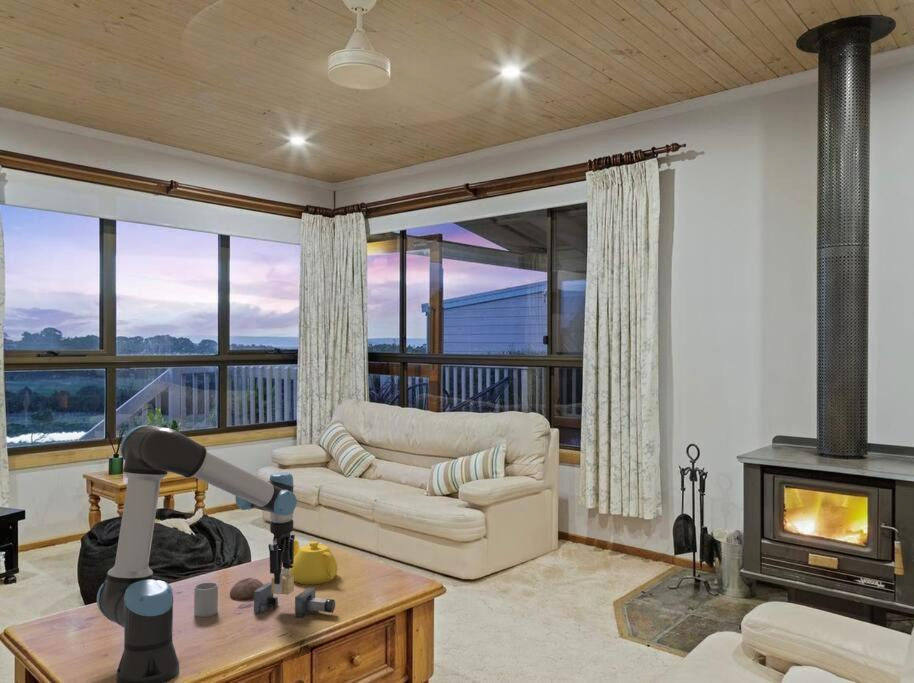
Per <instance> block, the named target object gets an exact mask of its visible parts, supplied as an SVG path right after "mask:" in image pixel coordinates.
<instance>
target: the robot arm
mask: <svg viewBox="0 0 914 683" xmlns="http://www.w3.org/2000/svg"><path fill="white" fill-rule="evenodd" d="M119 446H120V450H119V451H120V455H121V457H122V458H123V460H124V462H123V463H124V464H123V471H122V473H123V475H125V477H126V478H127V482H126V484H127V485H126V489H125V496H124V497H125V498H124V503H123V508H122V509H123V510H122V515H121V523H120V528H119V529H120V530H119V535H118V543H117V549H116V556H115V562H114V565H113V567H111V568H110V569H109V570H108V571H107V574H106V579H105V580H104V582H103V583H102V584H101V585H100V587H99V589H98V592H97V595H96V604H97V608H98V610H99V611H100V613H101V614H102V615H103V616H104V617H105V618H106V619H107V620H109V621H111V622H114V623H116V624H117V625H118V626H121V627H122V628H123V629H124V630H123V631H124V633H123V634H124V638H123V639H124V640H123V641H124V646H123V652H122V656H121V658H120V660H119V664H118V668H117V669H116V683H167V682H169V681H171V680H172V679H174V678H175V677H177V675H178V674H179V672H180V660H179V658H178V656H177V653H176V649H175V646H174V643H173V631H174V630H173V626H174V625H173V624H174V623H173V622H174V621H173V620H174V619H173V618H174V617H173V616H174V611H173V610H174V594H173V588H172V586H171V585H170V584H169V583H168V582H166V581H164V580H159V579H158V580H155V579H153V575H154V571H153V570H152V569H151V568H150V566H149V564H150V563H149V562H150V556H151V549H152V543H153V536H154V530H155V529H154V528H155V522H156V515H157V514H156V513H157V508H158V501H159V495H160V489H161V488H160V487H161V481H162V480H163V479H164V478H165V477H167V476H168V473H172V474H176V475H179V476H182V477H184V478H186V479H190V478H193V477H194V478H195V479H198V480H200V481H202V482H205V483H207V484H209V485H210V486H213V487H216V488H217V489H219V490H222V491H225V492H227V493H229V494H231V495H233V496H235V503H236V505H237V508H238V509H240V510H242V511H247V510H249V511H250V510H253V509H257V510H260V511H264V512H269V520H270V522H269V524H270V525H269V526H270V528H269V532H270V533H271V534H273V539H272V543H269V544H268V551H269V573H270V574H272V575H273V577H274V593H279V594H278V595H283V594H282V593H283V575H290V568H293V565H291V564H293V563H294V538H295V536H296V535H295V534H291V533H292V532H294V520H293V519H294V513H295V510H296V507H297V505H298V504H297V502H298V500H297V496H296V494H295V493H294V487H295V486H294V478H293V475H292V473H290V472H274V473H272V474H270V476H269V480H268V481H266V480H265V479H263V478H260V477H259V476H257V475H255V474H252V473H250V472H248V471H246V470H244V469H242V468H240V467H239V466H236V465H234V464H232V463H230V462H228V461H226V460H224V459H222V458H220V457H218V456H217V455H214V454H212V453H210V452H209V451H208V450H207V447H206V446H204V445H203V444H201V443H198V442H196V441H195V440H193V439H191V438H190V437H188V436H186V435H185V434H183V433H182V432H180V431H177V430H175V429H173V428H170V427H162V426H157V425H151V424H150V425H149V424H145V425H138V426H136V427H133V428H131V429H130V430H129V431H128V432H127V433H126V434H124V436H123V438H122V440H121V442H120V445H119ZM295 539H296V538H295ZM274 593H273V594H274Z"/></svg>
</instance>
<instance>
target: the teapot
mask: <svg viewBox="0 0 914 683" xmlns="http://www.w3.org/2000/svg"><path fill="white" fill-rule="evenodd" d="M308 543H309V544H308V545H303V546H301V547H300V545H299V542H298V540H297V539H296V538H294V563H293V564H291V565H293V568H290V575H294V582H295V583H297V584H299V583H300V585H305V584H306V585H305V586H307V585H309V586H310V585H312V586H313V585H314V586H315V585H322V584H325V582H326V583H328V582H330V581H332V580H333V579H334V578H335V577H336V575H337V573H338V570H339V569H338V563H337V560H336V557H335V556H334V554H333V553H332V551H331V549H330V547H328V546H327V545H326V544H325V545H324V544H319V541H314V540H313V541H310V542H308Z"/></svg>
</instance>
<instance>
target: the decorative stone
mask: <svg viewBox="0 0 914 683" xmlns="http://www.w3.org/2000/svg"><path fill="white" fill-rule="evenodd" d="M263 585H264V584H263V581H261V580H260V579H258V578H253V577H246V578H242V579H240V580H239V581H237V582H236V583H235V584H234V585H233V586H232V588H230V591H229V596H230V598H231V599H233V600H237V601H247V600H248V601H249V600H254V591H255V590H257V589H259V588H260V587H262V586H263Z"/></svg>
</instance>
